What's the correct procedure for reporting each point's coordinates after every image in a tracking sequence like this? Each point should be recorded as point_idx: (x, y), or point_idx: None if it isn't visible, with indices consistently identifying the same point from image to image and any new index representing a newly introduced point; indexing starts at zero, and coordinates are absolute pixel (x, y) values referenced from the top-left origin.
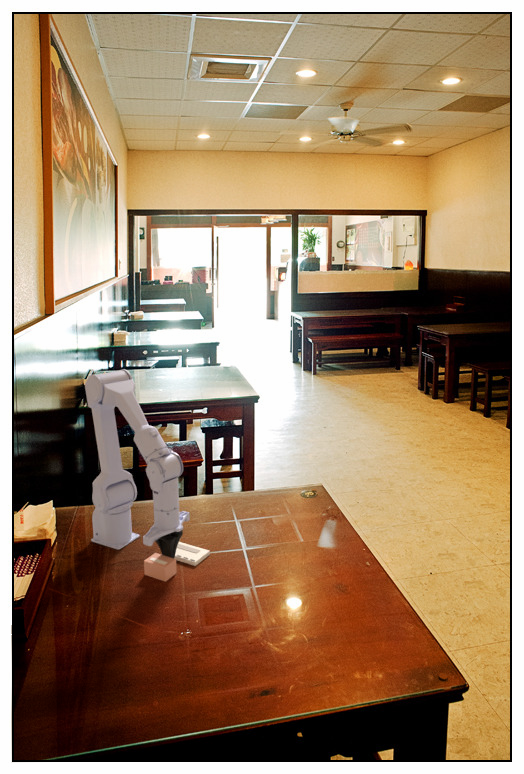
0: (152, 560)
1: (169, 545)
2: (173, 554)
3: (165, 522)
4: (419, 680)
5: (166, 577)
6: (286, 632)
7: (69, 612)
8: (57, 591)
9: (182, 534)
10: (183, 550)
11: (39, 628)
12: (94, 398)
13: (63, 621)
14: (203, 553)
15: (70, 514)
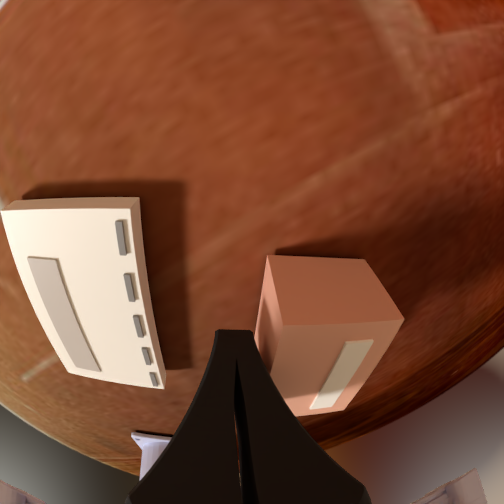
0: (338, 396)
1: (332, 460)
2: (236, 366)
3: None
4: None
5: (365, 271)
6: None
7: (474, 356)
8: (408, 410)
9: (132, 495)
10: (87, 329)
11: (496, 352)
12: None
13: (493, 342)
14: (33, 224)
15: None
